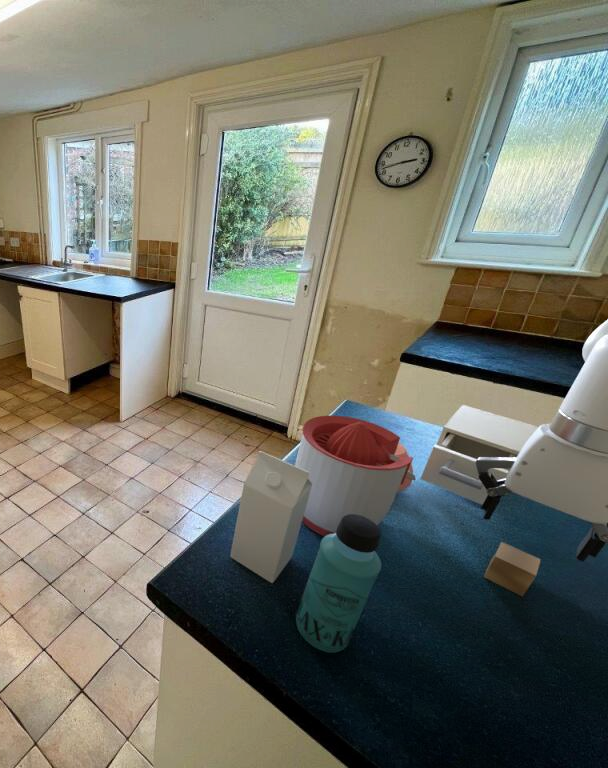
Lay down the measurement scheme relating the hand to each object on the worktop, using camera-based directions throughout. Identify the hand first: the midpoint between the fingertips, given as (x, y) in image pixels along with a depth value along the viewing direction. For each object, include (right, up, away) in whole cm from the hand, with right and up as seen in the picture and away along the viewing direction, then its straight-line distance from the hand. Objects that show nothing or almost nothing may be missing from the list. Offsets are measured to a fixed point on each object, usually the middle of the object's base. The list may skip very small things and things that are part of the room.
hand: (531, 534), depth 59 cm
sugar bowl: (-7, +2, +26) cm, 27 cm away
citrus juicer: (-19, -3, +15) cm, 25 cm away
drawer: (+10, +2, +22) cm, 24 cm away
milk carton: (-36, -7, +8) cm, 37 cm away
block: (0, -8, +4) cm, 9 cm away
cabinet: (+19, +4, +29) cm, 35 cm away
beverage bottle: (-32, -12, -4) cm, 35 cm away
